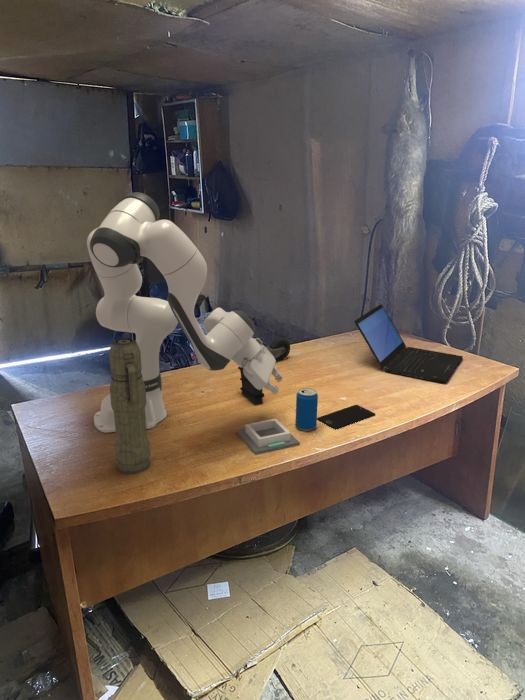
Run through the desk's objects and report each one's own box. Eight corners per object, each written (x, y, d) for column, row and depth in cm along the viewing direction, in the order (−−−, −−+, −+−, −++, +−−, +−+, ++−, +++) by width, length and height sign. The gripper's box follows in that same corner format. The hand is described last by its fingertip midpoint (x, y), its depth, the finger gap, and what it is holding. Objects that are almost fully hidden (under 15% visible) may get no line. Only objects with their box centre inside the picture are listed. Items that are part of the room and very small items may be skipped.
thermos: (127, 480, 136) (116, 351, 125) (109, 460, 145) (97, 338, 134) (159, 469, 141) (151, 344, 130) (139, 450, 150) (130, 332, 139)
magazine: (258, 404, 176) (249, 360, 177) (243, 406, 188) (235, 364, 189) (268, 402, 177) (260, 358, 178) (252, 404, 189) (245, 362, 190)
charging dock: (255, 454, 149) (255, 444, 148) (236, 432, 161) (236, 422, 160) (299, 444, 154) (299, 434, 153) (278, 424, 166) (278, 414, 165)
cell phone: (316, 420, 170) (316, 417, 170) (356, 406, 180) (356, 404, 180) (335, 431, 163) (335, 428, 163) (375, 416, 173) (376, 413, 173)
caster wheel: (283, 357, 226) (253, 361, 218) (285, 335, 224) (255, 338, 215) (291, 361, 222) (261, 365, 213) (293, 339, 219) (263, 342, 211)
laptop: (445, 386, 197) (452, 336, 191) (350, 366, 215) (353, 320, 209) (463, 359, 224) (469, 315, 218) (377, 344, 242) (380, 302, 236)
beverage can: (303, 420, 169) (304, 385, 165) (320, 426, 165) (322, 390, 161) (291, 427, 164) (292, 391, 160) (308, 434, 161) (310, 397, 157)
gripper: (248, 358, 148) (282, 393, 150) (259, 336, 167) (290, 367, 169) (232, 372, 150) (266, 406, 152) (245, 349, 169) (275, 379, 171)
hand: (279, 386), depth 161 cm, fingers open, 8 cm apart
